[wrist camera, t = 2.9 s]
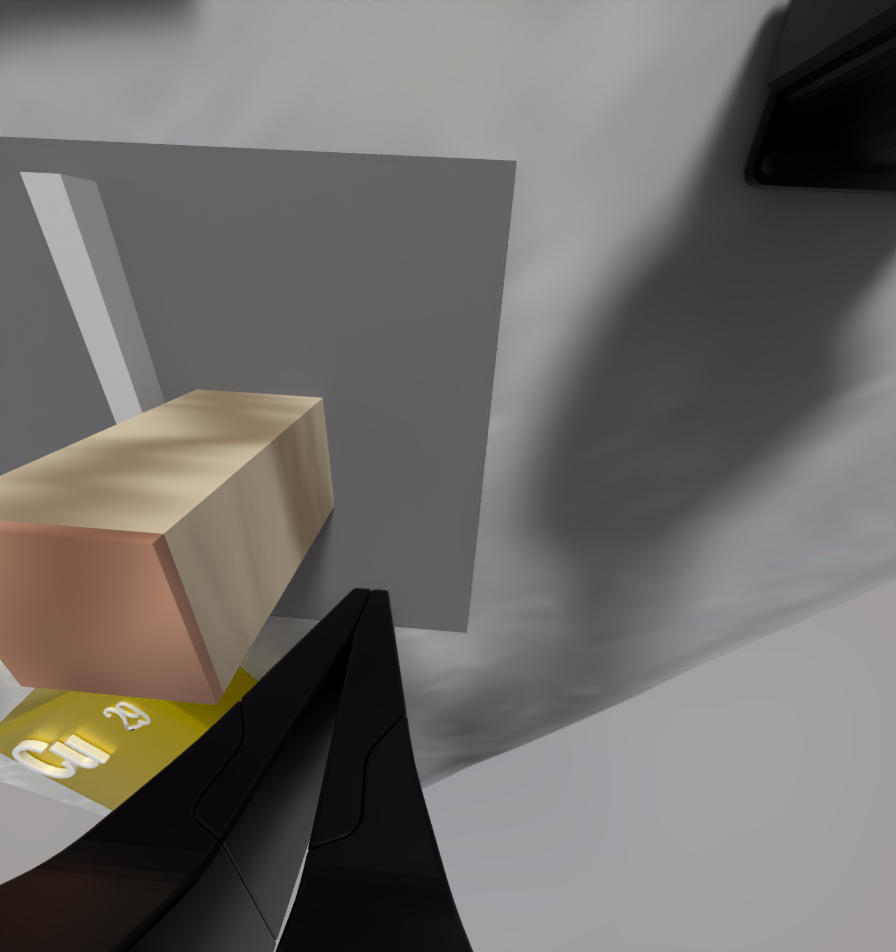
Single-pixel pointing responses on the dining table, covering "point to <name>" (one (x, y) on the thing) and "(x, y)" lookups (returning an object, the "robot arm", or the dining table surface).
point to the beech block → (160, 544)
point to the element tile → (107, 736)
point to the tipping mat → (272, 328)
